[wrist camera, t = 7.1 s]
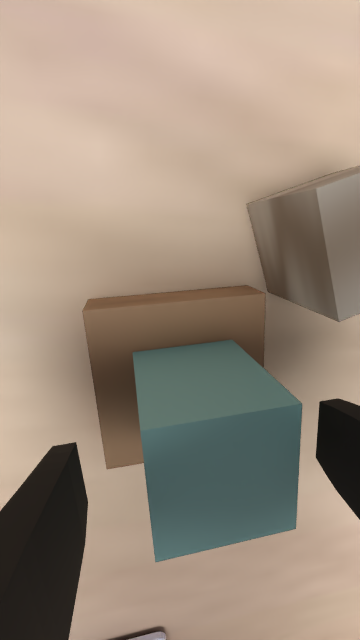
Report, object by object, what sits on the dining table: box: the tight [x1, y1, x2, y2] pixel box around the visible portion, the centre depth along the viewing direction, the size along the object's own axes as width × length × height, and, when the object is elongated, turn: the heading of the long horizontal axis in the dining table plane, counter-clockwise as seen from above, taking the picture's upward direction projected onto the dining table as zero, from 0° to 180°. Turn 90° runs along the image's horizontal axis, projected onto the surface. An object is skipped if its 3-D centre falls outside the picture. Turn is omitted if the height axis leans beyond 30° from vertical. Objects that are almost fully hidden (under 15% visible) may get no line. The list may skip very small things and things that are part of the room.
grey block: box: [246, 166, 360, 322], centre depth 11 cm, size 4×4×5 cm
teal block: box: [133, 340, 302, 562], centre depth 10 cm, size 4×4×5 cm
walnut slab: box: [83, 285, 265, 469], centre depth 14 cm, size 7×7×2 cm
